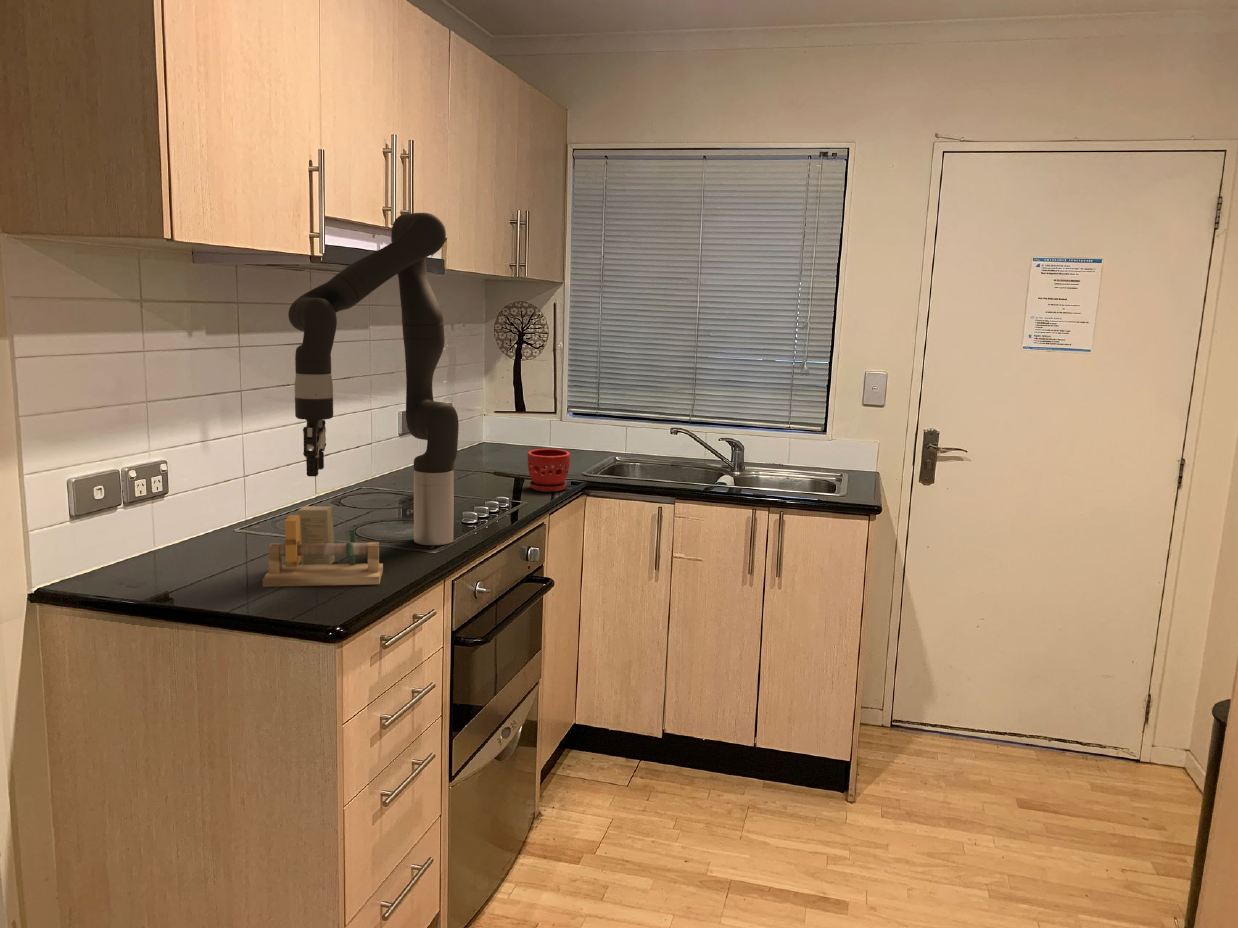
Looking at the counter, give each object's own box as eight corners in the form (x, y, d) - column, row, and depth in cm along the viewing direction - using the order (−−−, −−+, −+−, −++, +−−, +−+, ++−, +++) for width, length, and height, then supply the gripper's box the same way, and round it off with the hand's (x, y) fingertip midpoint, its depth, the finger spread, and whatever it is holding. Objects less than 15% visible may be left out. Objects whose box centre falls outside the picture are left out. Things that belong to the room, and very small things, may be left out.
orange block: (290, 559, 184) (289, 514, 183) (301, 559, 185) (300, 514, 183) (285, 567, 179) (284, 521, 177) (296, 567, 179) (295, 521, 178)
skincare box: (335, 561, 196) (334, 505, 194) (329, 566, 191) (328, 510, 189) (305, 560, 196) (304, 505, 194) (298, 566, 191) (297, 509, 189)
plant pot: (519, 487, 284) (519, 450, 282) (554, 484, 292) (555, 447, 290) (541, 495, 274) (542, 456, 272) (577, 491, 282) (578, 453, 280)
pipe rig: (272, 572, 186) (271, 529, 185) (382, 570, 190) (382, 528, 189) (262, 586, 177) (261, 541, 175) (379, 584, 181) (378, 540, 179)
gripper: (328, 399, 181) (329, 478, 184) (337, 392, 195) (338, 467, 198) (289, 398, 180) (291, 478, 183) (300, 392, 194) (302, 466, 196)
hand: (315, 472), depth 190 cm, fingers open, 8 cm apart
